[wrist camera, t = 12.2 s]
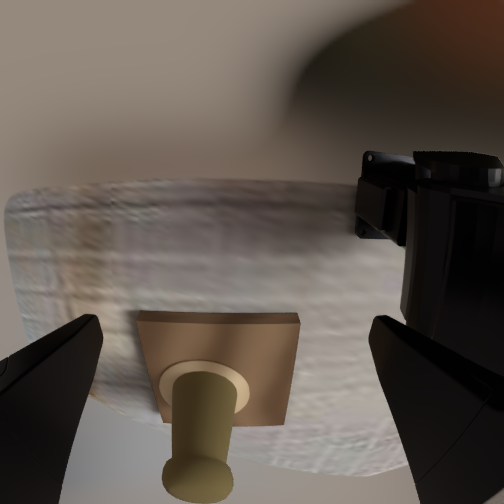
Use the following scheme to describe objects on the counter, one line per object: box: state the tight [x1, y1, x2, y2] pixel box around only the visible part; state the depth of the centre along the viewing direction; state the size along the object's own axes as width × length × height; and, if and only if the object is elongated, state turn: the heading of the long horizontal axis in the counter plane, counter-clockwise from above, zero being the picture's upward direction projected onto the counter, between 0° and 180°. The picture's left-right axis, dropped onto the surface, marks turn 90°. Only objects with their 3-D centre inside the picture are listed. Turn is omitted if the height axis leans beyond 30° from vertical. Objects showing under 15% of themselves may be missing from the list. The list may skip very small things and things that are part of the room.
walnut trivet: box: [136, 311, 301, 426], centre depth 26 cm, size 13×14×2 cm
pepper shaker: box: [162, 371, 237, 504], centre depth 20 cm, size 6×6×11 cm
